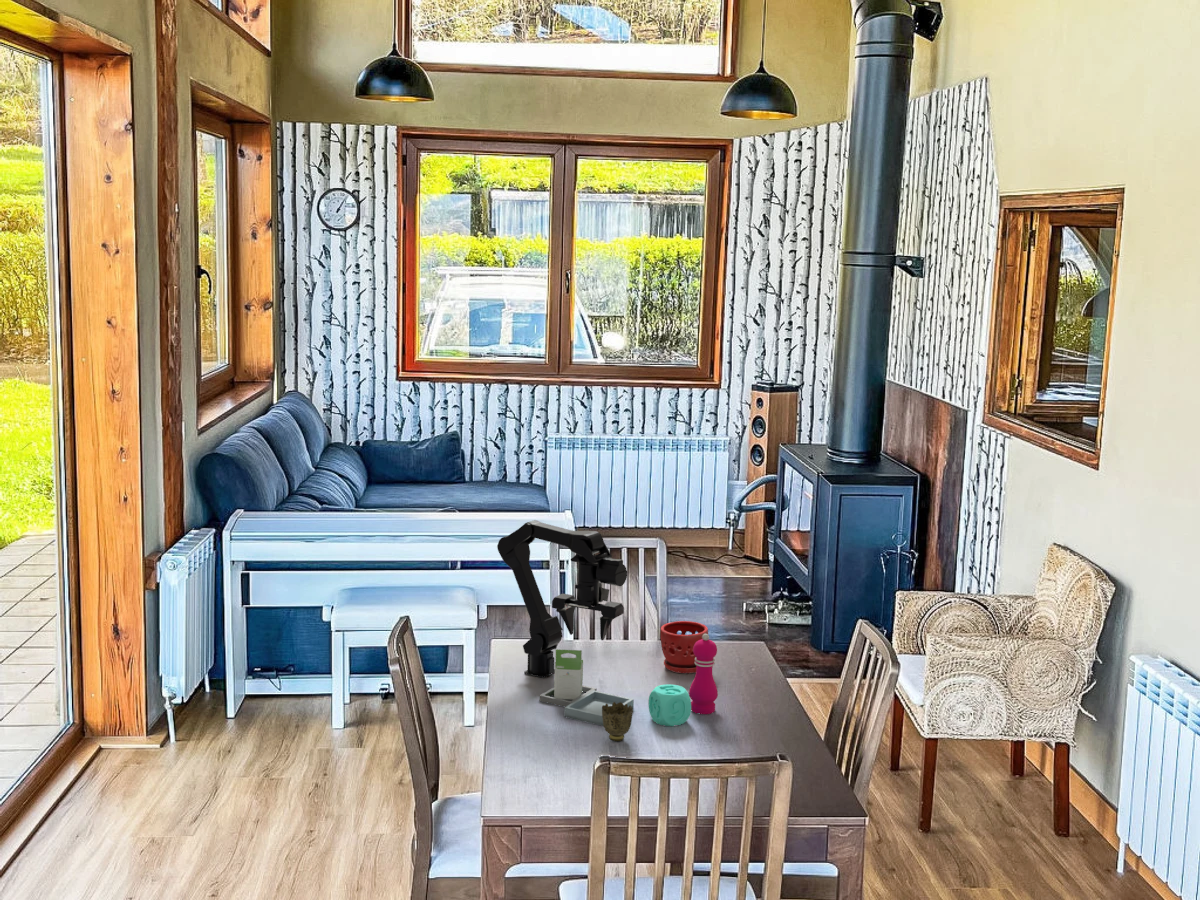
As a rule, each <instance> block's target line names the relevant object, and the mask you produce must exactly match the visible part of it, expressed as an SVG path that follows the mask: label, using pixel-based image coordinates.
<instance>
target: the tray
mask: <svg viewBox="0 0 1200 900" xmlns="http://www.w3.org/2000/svg"><path fill="white" fill-rule="evenodd" d="M634 700H635V699H634V698H630V697H628V696H627V697H626V696H622V695H621V696H620V695H618V694H617V695H616V694H614V693H613V694H612V693H610V692H604V691H603V692H602V691H599V690H596V691H595V690H593V691H592V692H590V693H588V694H586V695H585V696H583V697H581V698H580V699H578V700H576V701H575V702H573V703H571V704H569V705H568V706H566V707H563V708H564V709H563V710H564V711H563V712H564V716H563V717H564V718H566V717H567V719H570V718H571V720H575V721H579V722H584V723H586V724H587V723H588V724H592V725H597V726H601V727H604V725H603V718H602V706H603V705H604V706H605V705H606V704H608V707H609V706H612V705H613V704H612V703H613V702H615V703H616V704H617V703H619V702H622V703H623V705H624V706H625V704H627V705H628V707H629V706H630V705H631V707H632V708H633V709H634Z"/></svg>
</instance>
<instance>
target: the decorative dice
mask: <svg viewBox="0 0 1200 900" xmlns="http://www.w3.org/2000/svg"><path fill="white" fill-rule="evenodd" d="M691 702H692V699H691V698H690V696H689V691H687V689H686V688H685V687H684V686H682V685H677V684H670V683H669V684H661V685H657V686H656V687H654V688H653V689H652V691H651V692H650V693H649V696H648V711H649V714H650V718H651V719H652V721H653V722H654V723H655V722H656V723H655V724H657V725H659V724H660V726H663V725H665V726H664V727H675V726H674V725H679V726H681V724H682V725H684V724H685V723H687V721H688V719H689V718H690V717H691V713H692V711H691Z"/></svg>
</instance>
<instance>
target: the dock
mask: <svg viewBox="0 0 1200 900" xmlns="http://www.w3.org/2000/svg"><path fill="white" fill-rule="evenodd" d="M593 690H595V691H598V690H597V687H592V686H587V685H583V684H582V691H583V692H582V695H581V696H579V697H577V698H576V699H574V700H567V699H558V698H554V687H552V688H550V689H548V690H547V691H545V692H543V693H541V694H540V695H539V702H541V701H542V703H545V702H548V703H547V704H550V703H552V704H551V705H554V704H556V705H555V706H558V705H560V706H559V707H563V706H565V707H566V706H568V705H569V704H571V703H573V702H575V701H576V700H578V699H580V698H581V697H583V696H585V695H586V694H588V693H590V692H592V691H593ZM584 692H586V693H584ZM552 695H553V696H552ZM550 696H551V697H550Z"/></svg>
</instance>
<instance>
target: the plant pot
mask: <svg viewBox="0 0 1200 900" xmlns="http://www.w3.org/2000/svg"><path fill="white" fill-rule="evenodd" d="M678 632H680V633H681V634H678ZM687 632H689V633H691V634H687ZM696 632H697V633H696ZM703 634H708V635H709V628H708V627H707V626H706V625H705V624H703V623H701V622H696V621H689V620H688V621H687V620H680V621H671V622H668V623H665V624H663V625H662V626H660V633H659V635H660V646H661V651H662V654H663V656H664V660H663V665H664V667H665V668H666V669H667V670H669V671H670V672H673V673H678V674H686V673H687V674H686V675H688V674H693V673H696V664H695V658H696V656H695V655H694V653H693V647H694V644H695V643H696V642H697V641H698V640H701V639H702V636H703Z"/></svg>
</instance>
